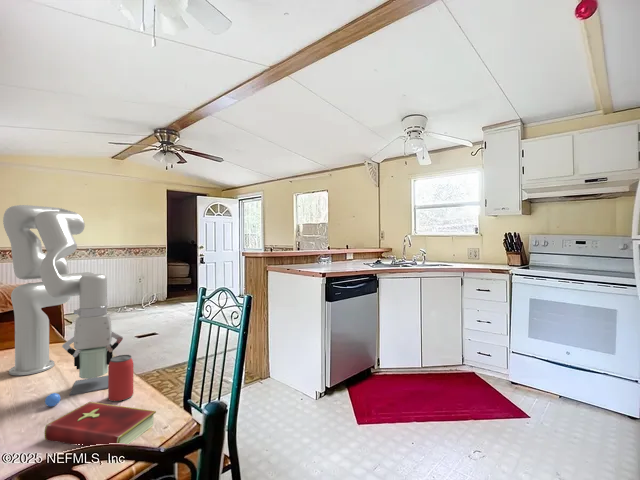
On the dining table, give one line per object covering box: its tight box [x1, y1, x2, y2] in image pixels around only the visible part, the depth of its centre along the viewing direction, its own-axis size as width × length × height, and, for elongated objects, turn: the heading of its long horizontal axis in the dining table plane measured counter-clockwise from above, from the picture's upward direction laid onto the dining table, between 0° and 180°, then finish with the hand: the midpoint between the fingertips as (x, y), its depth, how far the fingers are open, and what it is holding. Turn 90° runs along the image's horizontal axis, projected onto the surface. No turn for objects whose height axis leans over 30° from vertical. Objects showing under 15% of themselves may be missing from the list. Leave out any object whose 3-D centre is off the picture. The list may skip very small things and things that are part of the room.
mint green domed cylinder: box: [78, 347, 109, 380], centre depth 109 cm, size 8×8×8 cm
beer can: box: [107, 354, 134, 402], centre depth 101 cm, size 7×7×12 cm
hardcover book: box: [44, 401, 157, 448], centre depth 83 cm, size 12×21×4 cm, turn 77°
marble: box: [44, 392, 61, 407], centre depth 96 cm, size 4×4×4 cm
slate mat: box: [69, 375, 108, 396], centre depth 109 cm, size 11×11×1 cm
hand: (93, 365), depth 109 cm, fingers closed on mint green domed cylinder, 7 cm apart
